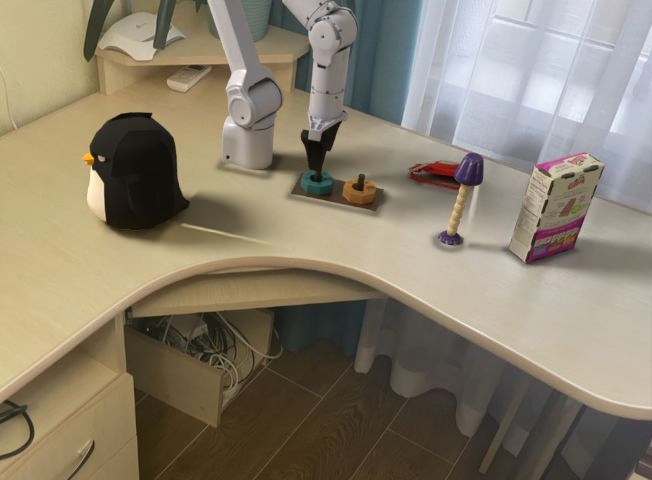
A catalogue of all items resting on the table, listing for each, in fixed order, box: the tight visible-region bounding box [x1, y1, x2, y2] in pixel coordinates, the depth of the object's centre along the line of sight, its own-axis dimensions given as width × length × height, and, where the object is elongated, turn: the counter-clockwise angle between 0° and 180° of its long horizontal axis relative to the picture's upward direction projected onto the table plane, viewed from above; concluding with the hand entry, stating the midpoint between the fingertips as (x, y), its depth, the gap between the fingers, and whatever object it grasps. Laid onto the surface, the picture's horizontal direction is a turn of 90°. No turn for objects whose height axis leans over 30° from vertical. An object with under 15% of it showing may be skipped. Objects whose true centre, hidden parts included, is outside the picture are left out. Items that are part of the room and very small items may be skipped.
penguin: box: [81, 111, 191, 232], centre depth 125 cm, size 18×18×17 cm
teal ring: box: [301, 170, 335, 195], centre depth 138 cm, size 6×6×2 cm
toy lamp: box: [437, 152, 485, 246], centre depth 123 cm, size 5×5×17 cm
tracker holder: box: [407, 160, 461, 191], centre depth 143 cm, size 12×4×10 cm
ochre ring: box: [343, 177, 378, 204], centre depth 137 cm, size 6×6×2 cm
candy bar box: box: [507, 151, 606, 264], centre depth 123 cm, size 11×5×16 cm, turn 117°
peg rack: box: [290, 167, 385, 212], centre depth 137 cm, size 16×8×5 cm, turn 73°
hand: (320, 159), depth 135 cm, fingers open, 7 cm apart
